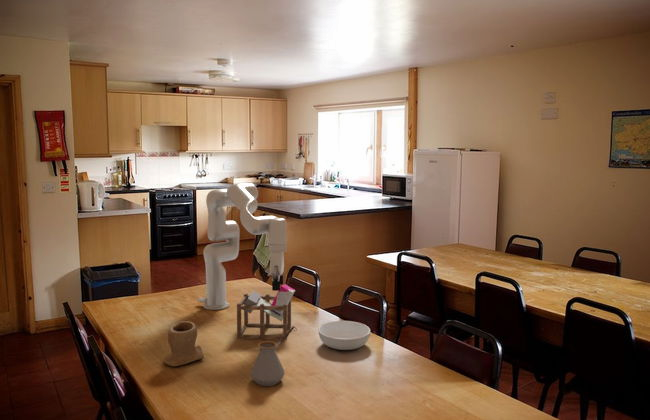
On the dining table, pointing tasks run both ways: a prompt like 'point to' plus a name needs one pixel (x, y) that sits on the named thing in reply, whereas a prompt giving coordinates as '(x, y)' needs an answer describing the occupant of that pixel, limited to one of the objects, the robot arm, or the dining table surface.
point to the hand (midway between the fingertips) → (277, 287)
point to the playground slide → (257, 300)
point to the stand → (262, 318)
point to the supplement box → (282, 298)
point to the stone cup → (183, 344)
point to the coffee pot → (268, 363)
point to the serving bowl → (344, 334)
